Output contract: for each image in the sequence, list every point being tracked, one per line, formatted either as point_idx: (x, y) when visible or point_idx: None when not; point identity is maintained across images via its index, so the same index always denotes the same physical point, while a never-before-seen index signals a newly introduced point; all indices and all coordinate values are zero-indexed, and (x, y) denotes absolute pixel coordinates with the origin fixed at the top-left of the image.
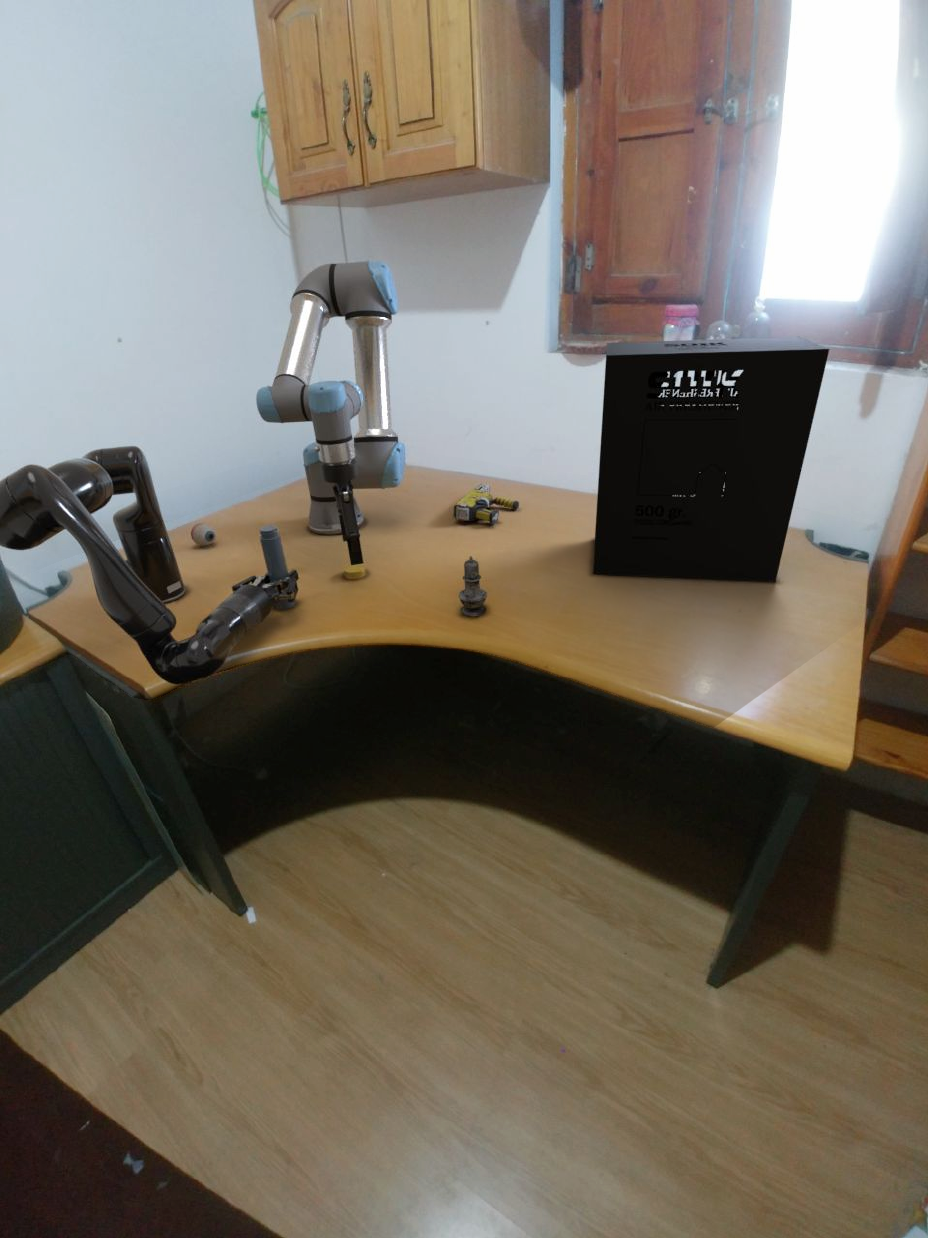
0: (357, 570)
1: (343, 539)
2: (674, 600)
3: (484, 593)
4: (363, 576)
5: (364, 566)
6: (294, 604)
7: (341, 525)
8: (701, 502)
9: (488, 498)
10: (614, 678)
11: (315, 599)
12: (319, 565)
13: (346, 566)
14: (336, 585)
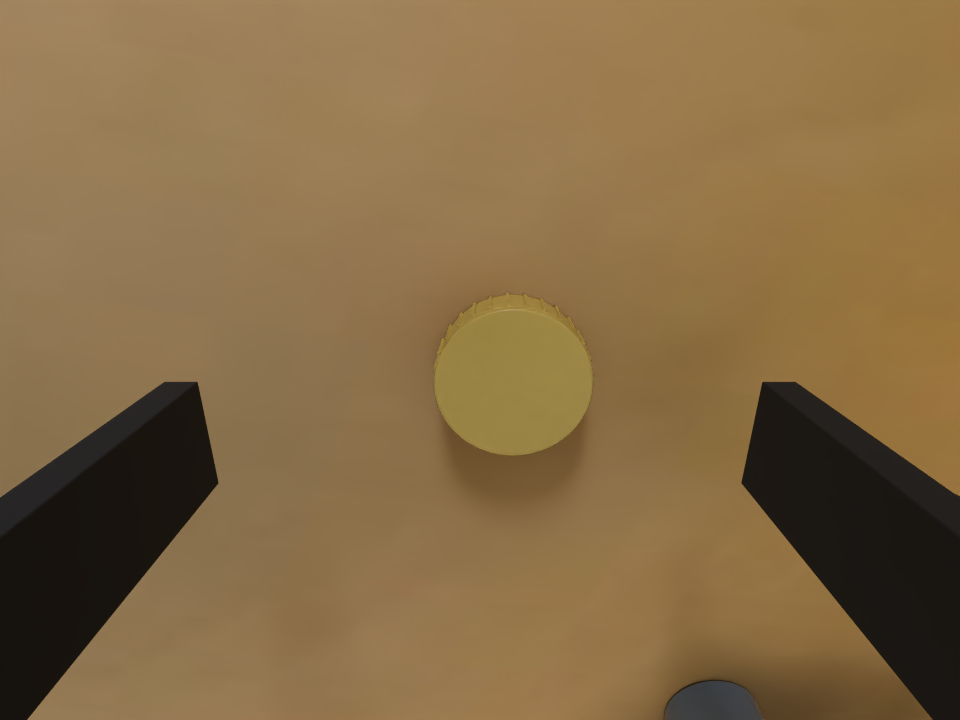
0: (570, 371)
1: (207, 493)
2: None
3: None
4: (569, 319)
5: (520, 311)
6: (733, 685)
7: (107, 613)
8: None
9: None
10: None
11: (726, 598)
12: (276, 541)
13: (464, 432)
14: (607, 487)
